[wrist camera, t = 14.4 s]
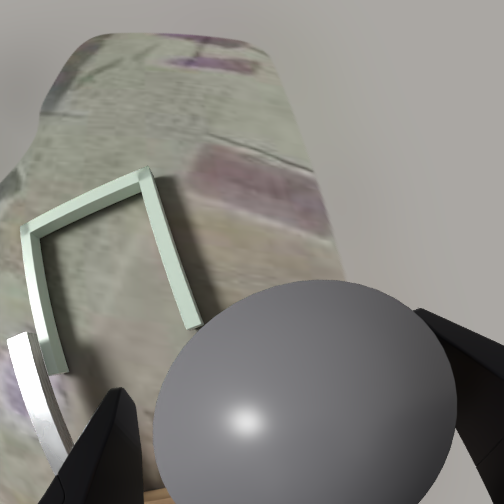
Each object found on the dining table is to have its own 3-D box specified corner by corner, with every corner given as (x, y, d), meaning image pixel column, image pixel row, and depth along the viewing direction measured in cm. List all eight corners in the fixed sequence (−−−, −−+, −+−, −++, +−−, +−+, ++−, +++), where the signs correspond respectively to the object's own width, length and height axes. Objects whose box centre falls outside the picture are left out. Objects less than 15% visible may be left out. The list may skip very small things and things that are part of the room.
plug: (347, 394, 16) (527, 468, 3) (231, 445, 15) (203, 626, 2) (297, 283, 17) (408, 145, 5) (180, 332, 17) (22, 300, 4)
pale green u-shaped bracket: (204, 325, 17) (201, 323, 16) (59, 374, 16) (48, 375, 14) (153, 175, 19) (148, 165, 18) (29, 232, 18) (19, 226, 17)
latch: (128, 542, 11) (118, 557, 9) (106, 543, 11) (95, 557, 9) (36, 333, 14) (17, 331, 12) (17, 340, 14) (-2, 339, 12)
